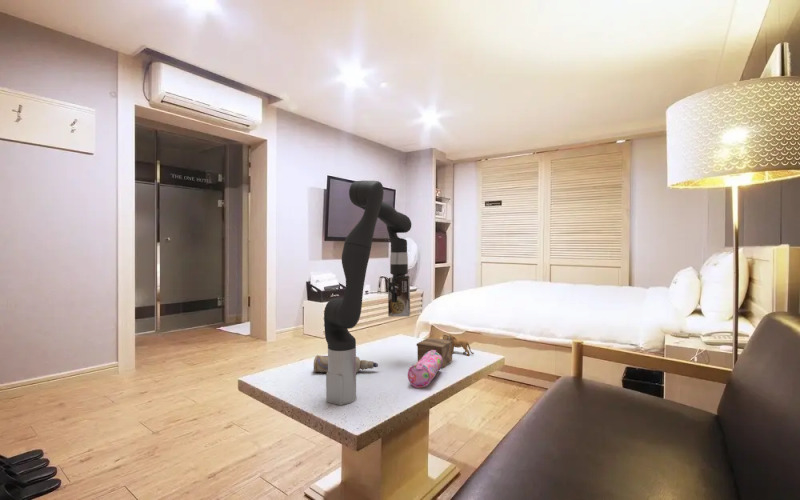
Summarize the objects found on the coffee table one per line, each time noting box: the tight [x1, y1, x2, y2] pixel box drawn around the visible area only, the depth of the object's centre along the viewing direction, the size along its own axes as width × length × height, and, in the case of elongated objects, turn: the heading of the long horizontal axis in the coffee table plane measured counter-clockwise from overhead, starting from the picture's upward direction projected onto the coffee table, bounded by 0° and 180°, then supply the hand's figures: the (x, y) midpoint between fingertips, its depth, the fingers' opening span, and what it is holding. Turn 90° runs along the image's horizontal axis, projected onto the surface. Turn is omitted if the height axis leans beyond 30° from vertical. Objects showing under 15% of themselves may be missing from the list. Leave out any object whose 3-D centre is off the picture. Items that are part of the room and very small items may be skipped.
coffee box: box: [387, 276, 411, 317], centre depth 159 cm, size 9×6×16 cm
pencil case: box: [407, 350, 443, 389], centre depth 141 cm, size 21×9×9 cm, turn 160°
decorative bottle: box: [313, 354, 379, 374], centre depth 150 cm, size 26×8×7 cm, turn 86°
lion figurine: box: [442, 333, 475, 357], centre depth 174 cm, size 15×5×9 cm, turn 71°
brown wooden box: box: [416, 336, 453, 370], centre depth 160 cm, size 13×12×9 cm
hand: (399, 301), depth 159 cm, fingers closed on coffee box, 8 cm apart
